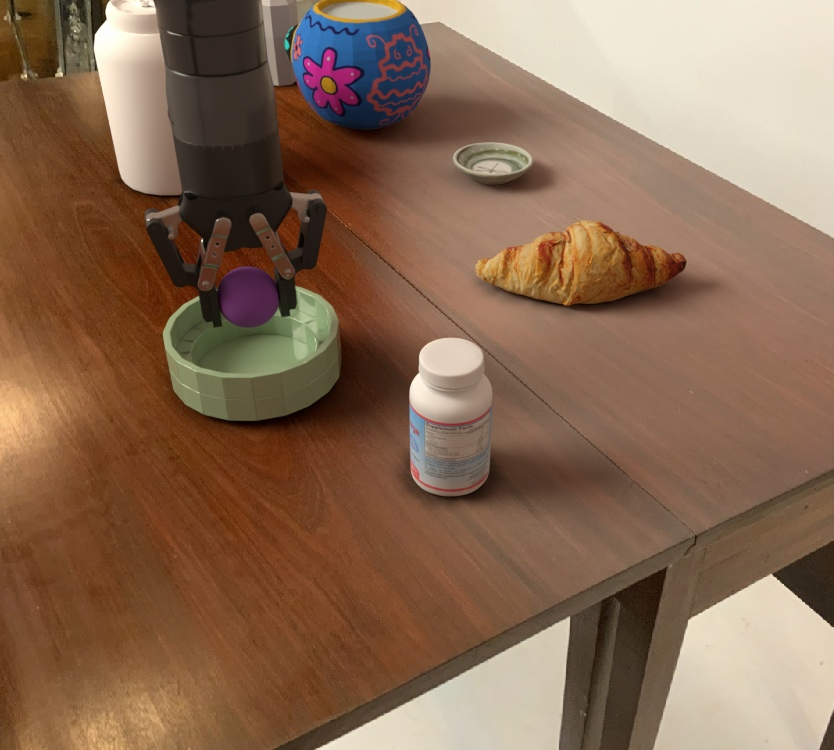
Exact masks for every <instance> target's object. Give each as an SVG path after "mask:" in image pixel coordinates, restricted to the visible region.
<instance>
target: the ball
mask: <svg viewBox="0 0 834 750" xmlns="http://www.w3.org/2000/svg"><path fill="white" fill-rule="evenodd" d="M216 289H217V295H218V301H219V307H220V312H221V313H222V315H223V316H224V317H225V318H226V319H227V320H228V321H229V322H231V323H232V324H234V325H236V326H239V327H244V328H253V327H258V326H261V325H263V324H265V323H266V322H268V321H269V320H270V319H271V318H272V317H273V316H274V314H275V313H276V311H277V309H278V305H279V292H278V287H277V285H276V283H275V279H273V277H272V276H271V275H270V274H269V273H268V272H266V271H265V270H263V269H260V268H258V267H254V266H242V267H241V266H239V267H237V268H234V269H232V270H230V271H229V272H227V273H226V274H225V275H224V276H223V278H222V279H221V280H220V282H219V284H218V287H217V288H216Z"/></svg>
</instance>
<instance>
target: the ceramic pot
mask: <svg viewBox="0 0 834 750" xmlns="http://www.w3.org/2000/svg"><path fill="white" fill-rule="evenodd" d="M425 35H426V34H425V32H424V30H423V28H422V26H421V24H420V22H419V20H418V18H417V17H416V15H415V14H414V12H413V11H411V9H410V8H409V7H408V6H406V5H405V4H403V3H402V2H401V1H399V0H320V1H318V2H316V3H314V4H313V6H312V7H310V8H309V10H308V11H306V13H305V14H304V15H303V17H302V19H301V21H300V22H298V24H297V25H295V26H293V27H292V28H291V29H290V30H289V31H288V33H287V35H286V38H285V50H286V54H287V56H288V58H289V60H290V61H291V63H292V64H293V69H294V74H295V78H296V81H295V82H296V85H297V87H298V89H299V92H300V94H301V95H302V97H303V99H304V100H305V101H306V103H307V104H308V106H309V107H310V109H311V110H312V111H313V112H314V113H316V114H317V115H318V116H319V117H320V118H322V119H323V120H324V121H326V122H329V123H332V124H333V125H336V126H339V127H343V128H346V129H349V130H350V129H351V130H359V131H360V130H362V131H367V130H368V131H370V130H378V129H383V128H386V127H390V126H392V125H394V124H398V123H399V122H400V121H403V120H404V119H406V118H409V116H410V115H411V114H412V113H413V112H414V111H415V109H416V108H417V107H418V106H419V103H420V102H421V100H422V98H423V96H424V94H425V92H426V90H427V87H428V85H429V80H430V77H431V76H430V75H431V67H432V64H431V63H432V61H431V55H430V50H429V45H428V40H427V37H426V36H425Z"/></svg>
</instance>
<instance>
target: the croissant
mask: <svg viewBox="0 0 834 750" xmlns="http://www.w3.org/2000/svg"><path fill="white" fill-rule="evenodd" d="M686 267H687V259H686V257H685V256H684V254H682V253H680V252H673V253H668V252H667V251H666V250H665V249H663V248H662V247H659V246H656V245H653V244H646V245H643V244H641V243H639V241H638V240H636V239H635V238H633V237H632V236H629V235H626V234H621V233H620V231H614V230H613V228H611V227H610V226H609V225H607V224H606V223H603V222H602V221H597V220H587V219H582V220H579V221H577V222H574V223H572V224H571V225H568V226H567V227H566V229H565V230H564V231H562V232H561V231H551V232H547V233H545V234H542V235H539V236H537V237H536V238H534V240H533V241H532V242H530V243H529V242H527V243H525V244H522V245H516V246H508V247H507V248H505V249H503V250H501V251H500V252H498V253H497V254H496V255H495V256H494V257H491V258H490V257H487V258H482V259H479V260H478V261H477V263H476V264H475V266H474V268H475V273H476V274H475V275H476V276H477V277H478V278H480V280H482V281H483V282H486V283H488V284H490V285H491V286H495V287H498V288H501V289H502V290H505V291H506V292H509V293H513V294H516V295H522V296H525V297H527V298H528V297H529V298H532V299H535V300H541V301H542V300H543V301H545V302H550V303H555V304H560V305H564V307H566V306H573V305H577V304H585V305H590V304H591V305H593V304H594V305H595V304H601V303H607V302H613V301H616V300H620V299H622V298H625V297H626V296H631V295H634V294H637V293H642V292H645V291H648V290H650V289H654V288H658V287H661V286H663V285H665V284H666V283H668V282H670V281H671V280H673V279H674V278H675V277H677V276H678V275H680V274H682V273H683V271H684V270H685V269H686Z"/></svg>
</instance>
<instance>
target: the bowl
mask: <svg viewBox="0 0 834 750" xmlns="http://www.w3.org/2000/svg"><path fill="white" fill-rule="evenodd" d="M295 288H296V298H297V305H296V308H295V309H291V310H290V316H288V317H281V314H280V311H279V307H278V309H277V311H276V313H275V314H274V316H273V317H272V318H271V319H270V320H269V321H268V322H266V323H265V324H263V325H261V326H258V327H253V328H244V327H239V326H236V325H234V324H232V323H231V322H229V321H228V320H227V319H226V318H225V317H224V316H223V315H222V313H221V312H220V314H221V320H222V327H216V328H214V327H213V322H206V321H205V320H204V318H203V316H202V311H201V306H200V300H199V295H198V296H196V297H194V298H192V299H190V300H189V301H187V302H185V303H183V304H182V305H181V306H180V307H179V308H178V309H176V310H175V312H174V313H173V314H171V316H170V317H168V320H167V322H166V324H165V327H164V329H163V331H162V338H163V344H164V350H165V355H166V360H167V366H168V371H169V374H170V380H171V381H170V382H171V385H172V390H173V391H174V393H175V394H176V396H177V397H178V398H179V399H180V401H182V403H183V404H184V405H186V406H187V407H188V408H191V409H192V410H194V411H196V412H198V413H199V414H201V415H204V416H207V417H210V418H216V419H219V420H225V421H230V422H231V421H233V422H240V421H241V422H258V421H259V422H260V421H263V420H268V419H269V420H270V419H275V418H279V417H285V416H288V415H290V414H293V413H296V412H298V411H301V410H303V409H307V408H308V407H310V406H312V405H313V404H314V403H316V402H317V401H319V400H320V399H321V398H323V397H324V396H325V395H327V394H328V393H329V392H330V391H331V390H332V388H333V386H335V384H336V382H337V381H338V379H339V378H340V376H341V375H340V374H341V368H342V362H343V361H342V348H341V345H342V344H341V332H340V320H339V317H338V315H337V312H336V310H335V307H334V306H333V305H331V303H330V302H328V301H327V300H326V299H325V298H324V297H323V296H322V295H320V294H319V293H316V292H313V291H311V290H309V289H307V288H305V287H302V286H297V285H295Z"/></svg>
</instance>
